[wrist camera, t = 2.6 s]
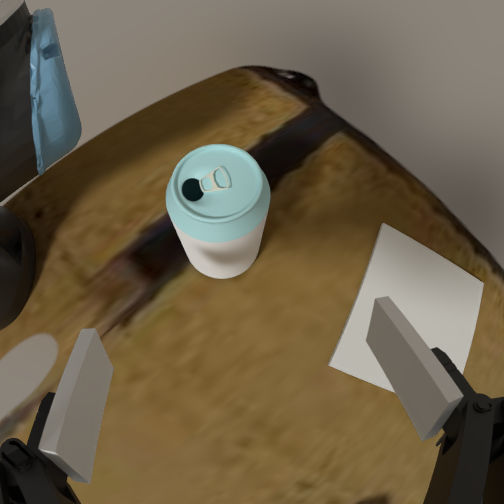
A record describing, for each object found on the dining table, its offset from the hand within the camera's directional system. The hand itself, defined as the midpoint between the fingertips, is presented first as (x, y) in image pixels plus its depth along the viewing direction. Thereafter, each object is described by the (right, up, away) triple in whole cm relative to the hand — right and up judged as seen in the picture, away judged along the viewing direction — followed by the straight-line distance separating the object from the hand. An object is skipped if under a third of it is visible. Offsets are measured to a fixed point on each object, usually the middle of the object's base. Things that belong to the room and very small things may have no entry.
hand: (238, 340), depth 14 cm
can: (-2, +5, +17) cm, 17 cm away
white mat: (+18, -3, +15) cm, 24 cm away
